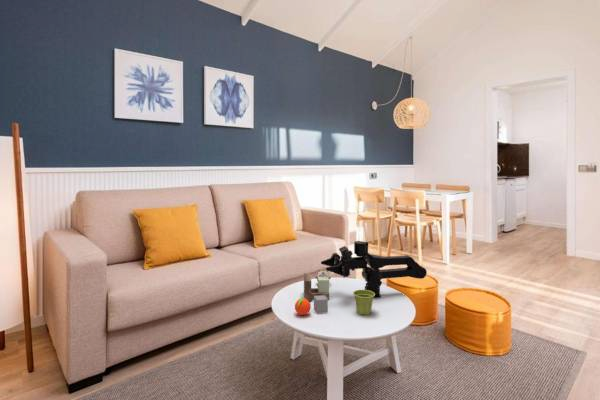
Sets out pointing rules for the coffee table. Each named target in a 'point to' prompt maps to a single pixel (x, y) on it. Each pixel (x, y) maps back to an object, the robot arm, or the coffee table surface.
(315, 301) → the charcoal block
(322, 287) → the pale green block
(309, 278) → the walnut console
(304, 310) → the clementine
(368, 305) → the plant pot
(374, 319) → the coffee table surface
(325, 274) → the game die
